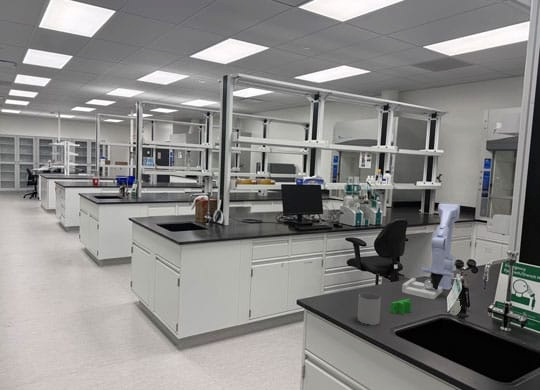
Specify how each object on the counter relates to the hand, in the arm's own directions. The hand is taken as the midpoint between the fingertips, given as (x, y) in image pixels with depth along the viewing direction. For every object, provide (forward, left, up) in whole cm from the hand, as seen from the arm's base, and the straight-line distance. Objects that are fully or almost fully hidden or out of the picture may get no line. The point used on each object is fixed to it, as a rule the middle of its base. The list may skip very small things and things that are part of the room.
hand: (435, 289), depth 183 cm
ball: (0, -3, +1) cm, 3 cm away
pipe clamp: (+33, -5, -4) cm, 33 cm away
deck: (-1, -7, -3) cm, 8 cm away
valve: (+17, +13, -4) cm, 21 cm away
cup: (+53, -12, -4) cm, 54 cm away
